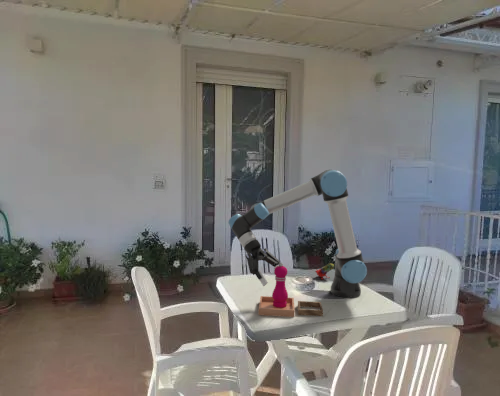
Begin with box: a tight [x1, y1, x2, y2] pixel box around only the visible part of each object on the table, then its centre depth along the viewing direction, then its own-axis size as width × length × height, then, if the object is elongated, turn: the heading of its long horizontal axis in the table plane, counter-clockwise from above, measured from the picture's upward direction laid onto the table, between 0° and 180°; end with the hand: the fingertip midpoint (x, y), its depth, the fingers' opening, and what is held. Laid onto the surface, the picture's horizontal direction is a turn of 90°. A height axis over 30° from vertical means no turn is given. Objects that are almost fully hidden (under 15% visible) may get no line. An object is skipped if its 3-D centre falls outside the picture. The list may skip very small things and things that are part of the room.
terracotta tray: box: [257, 295, 295, 318], centre depth 179 cm, size 16×16×3 cm
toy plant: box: [315, 262, 335, 280], centre depth 227 cm, size 8×10×12 cm
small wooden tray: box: [297, 300, 324, 317], centre depth 178 cm, size 11×11×2 cm
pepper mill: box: [271, 262, 289, 308], centre depth 180 cm, size 7×7×20 cm
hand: (274, 281), depth 179 cm, fingers open, 13 cm apart
